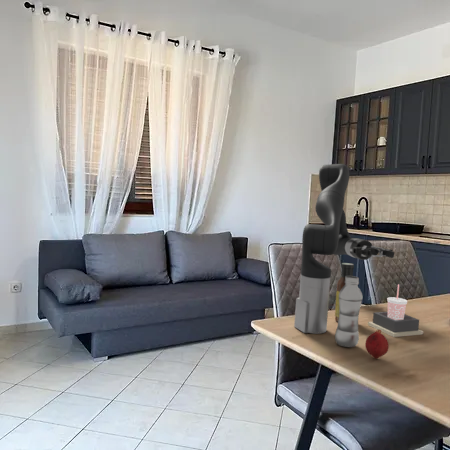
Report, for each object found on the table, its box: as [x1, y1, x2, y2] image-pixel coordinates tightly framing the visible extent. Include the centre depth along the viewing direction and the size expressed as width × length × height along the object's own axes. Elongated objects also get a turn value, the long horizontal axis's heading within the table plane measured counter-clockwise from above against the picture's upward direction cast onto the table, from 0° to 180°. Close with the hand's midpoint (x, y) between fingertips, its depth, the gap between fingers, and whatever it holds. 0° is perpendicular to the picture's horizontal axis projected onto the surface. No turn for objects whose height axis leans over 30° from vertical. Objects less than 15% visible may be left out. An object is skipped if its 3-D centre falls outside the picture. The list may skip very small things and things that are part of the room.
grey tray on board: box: [367, 311, 424, 338], centre depth 143 cm, size 12×12×4 cm
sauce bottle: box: [334, 262, 355, 323], centre depth 148 cm, size 7×6×20 cm
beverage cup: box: [386, 283, 408, 320], centre depth 142 cm, size 6×6×14 cm
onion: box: [364, 329, 390, 360], centre depth 116 cm, size 6×6×8 cm
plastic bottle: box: [334, 275, 363, 348], centre depth 124 cm, size 6×7×20 cm
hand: (381, 254), depth 151 cm, fingers open, 8 cm apart
